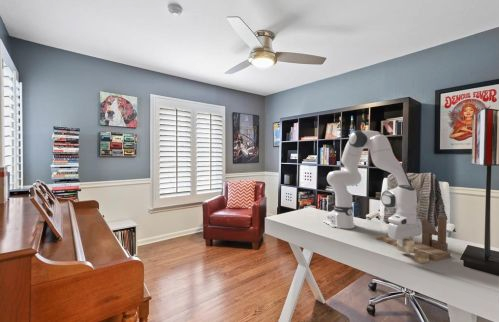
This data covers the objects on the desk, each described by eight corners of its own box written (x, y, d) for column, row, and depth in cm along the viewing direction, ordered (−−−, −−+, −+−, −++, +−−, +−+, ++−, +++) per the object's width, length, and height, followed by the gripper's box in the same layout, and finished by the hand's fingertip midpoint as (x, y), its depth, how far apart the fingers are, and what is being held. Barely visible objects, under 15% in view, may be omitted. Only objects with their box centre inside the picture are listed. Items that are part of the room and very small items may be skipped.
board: (376, 239, 145) (376, 235, 145) (391, 236, 149) (391, 233, 149) (434, 260, 115) (434, 256, 115) (450, 257, 120) (450, 253, 120)
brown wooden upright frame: (424, 243, 138) (425, 211, 137) (447, 250, 128) (448, 216, 128) (421, 244, 136) (422, 212, 135) (444, 251, 126) (445, 216, 126)
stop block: (414, 261, 115) (414, 252, 115) (422, 258, 117) (422, 250, 117) (420, 263, 112) (420, 255, 112) (429, 261, 114) (429, 253, 114)
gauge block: (396, 249, 124) (397, 237, 124) (402, 248, 126) (402, 236, 125) (408, 253, 119) (408, 241, 118) (414, 252, 120) (414, 240, 120)
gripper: (413, 214, 128) (413, 240, 129) (385, 218, 121) (385, 246, 121) (426, 217, 123) (425, 244, 123) (397, 221, 115) (397, 250, 115)
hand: (405, 245), depth 122 cm, fingers closed on gauge block, 4 cm apart
